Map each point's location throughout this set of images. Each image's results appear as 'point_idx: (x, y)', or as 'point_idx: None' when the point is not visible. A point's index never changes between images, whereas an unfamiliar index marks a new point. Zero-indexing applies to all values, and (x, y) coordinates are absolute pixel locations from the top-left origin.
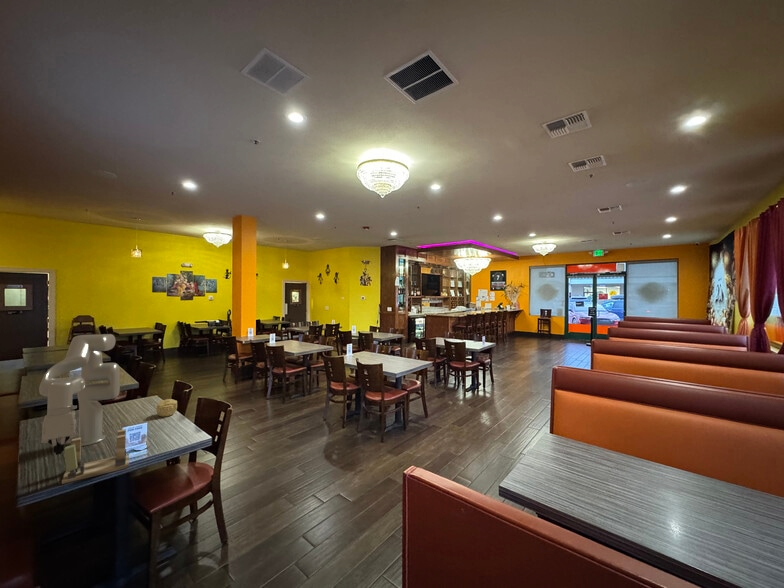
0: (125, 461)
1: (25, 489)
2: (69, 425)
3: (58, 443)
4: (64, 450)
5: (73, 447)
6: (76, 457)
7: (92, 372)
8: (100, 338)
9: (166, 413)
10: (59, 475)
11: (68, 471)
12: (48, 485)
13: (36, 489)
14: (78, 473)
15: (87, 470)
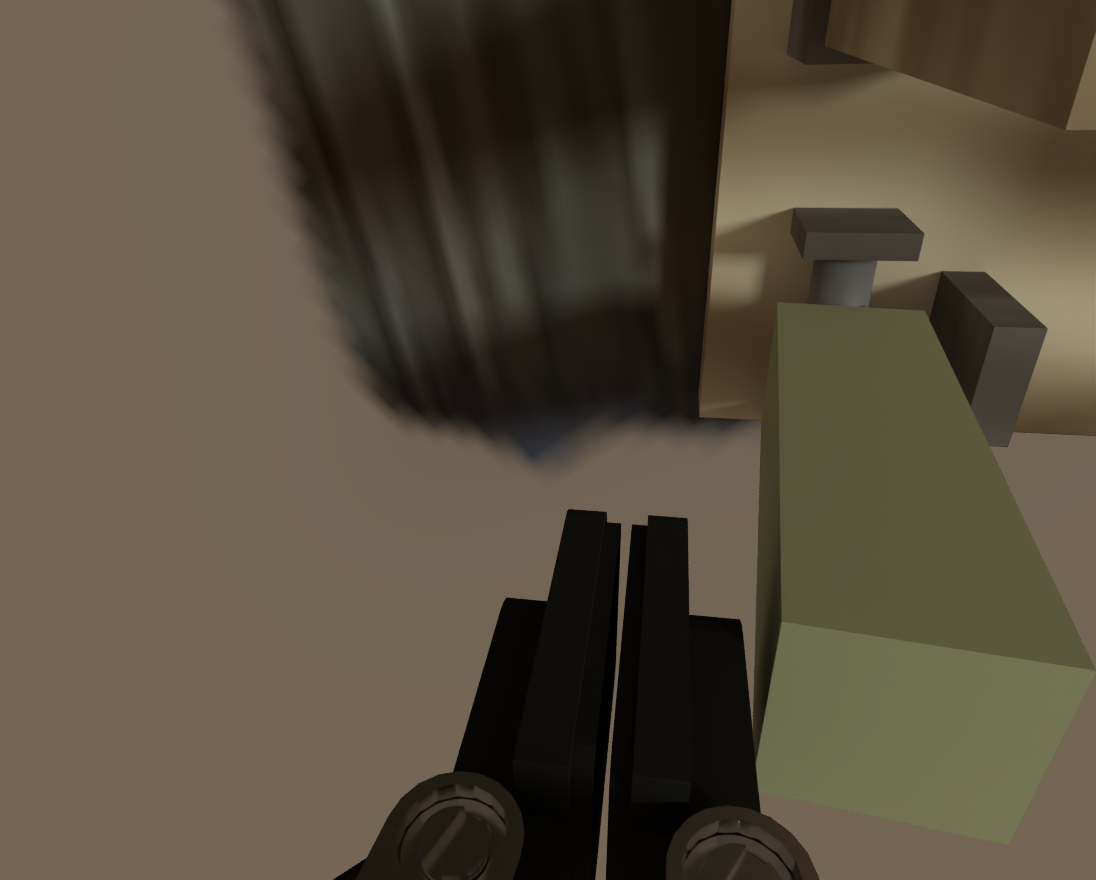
0: None
1: (332, 267)
2: None
3: (567, 832)
4: (755, 757)
5: (987, 822)
6: (963, 399)
7: None
8: None
9: None
10: (644, 11)
11: (773, 88)
12: (559, 325)
13: (456, 354)
14: (901, 300)
15: (1034, 265)
